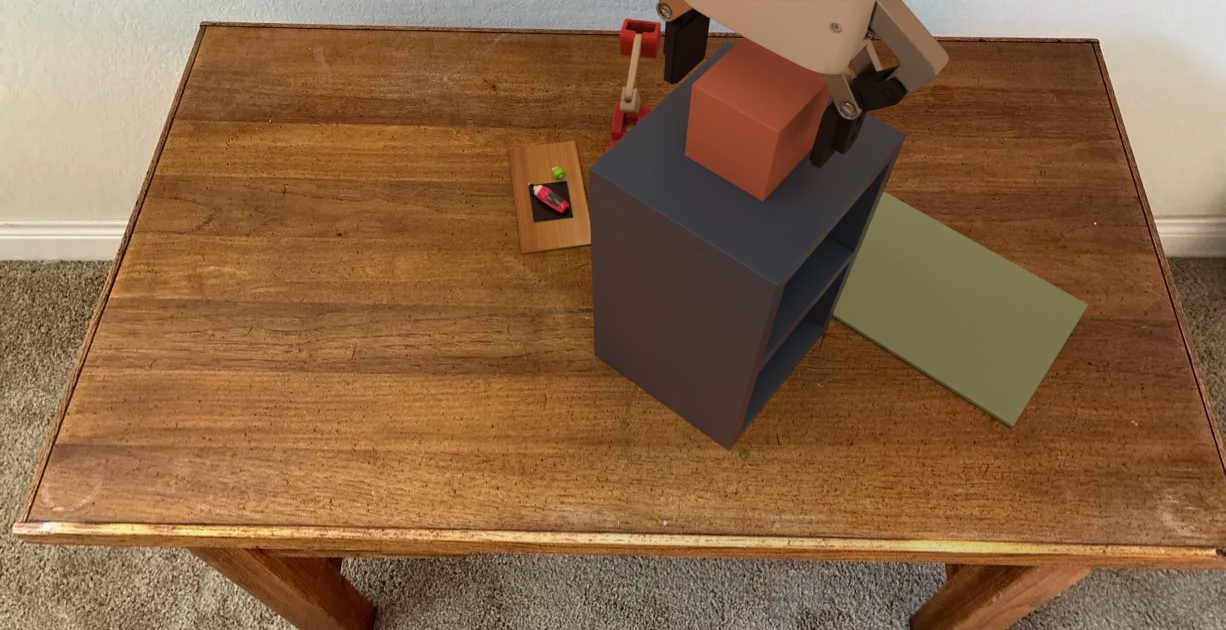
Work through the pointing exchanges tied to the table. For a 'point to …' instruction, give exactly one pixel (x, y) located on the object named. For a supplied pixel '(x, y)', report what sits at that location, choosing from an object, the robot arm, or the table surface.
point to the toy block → (754, 117)
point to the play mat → (955, 309)
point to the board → (549, 197)
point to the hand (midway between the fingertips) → (754, 109)
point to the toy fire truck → (634, 74)
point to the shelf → (721, 264)
